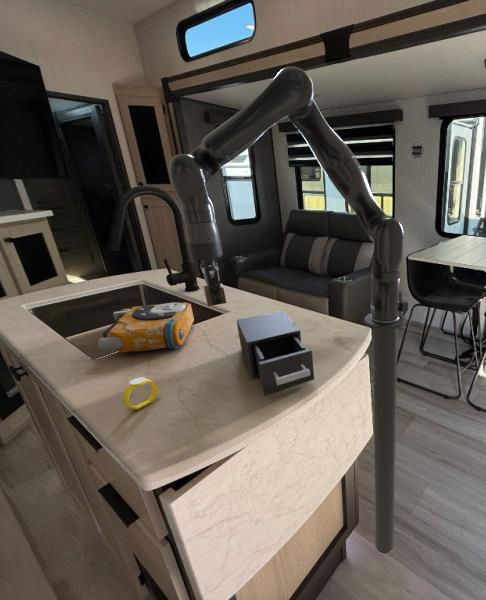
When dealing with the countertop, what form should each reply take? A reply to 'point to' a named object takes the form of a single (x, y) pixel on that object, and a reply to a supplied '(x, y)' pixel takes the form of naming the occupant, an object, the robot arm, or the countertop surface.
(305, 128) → the robot arm
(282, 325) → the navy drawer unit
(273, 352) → the open drawer cabinet
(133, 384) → the watch
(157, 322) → the device
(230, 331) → the countertop surface
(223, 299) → the block
